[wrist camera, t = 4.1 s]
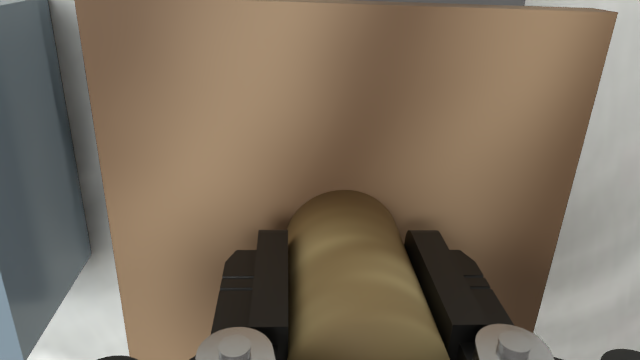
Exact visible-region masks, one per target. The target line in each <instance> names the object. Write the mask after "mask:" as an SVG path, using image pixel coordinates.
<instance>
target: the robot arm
mask: <svg viewBox="0 0 640 360" xmlns="http://www.w3.org/2000/svg"><path fill="white" fill-rule="evenodd" d="M404 246H405V249H406V251H407V254H408V256H409V259H410V261H411V264H412V266H413V269H414V271H415V274H416V276H417V279H418V281H419V284H420V286H421V289H422V291H423V294H424V296H425V298H426V301H427V303H428V306H429V308H430V311H431V313H432V316H433V318H434V321H435V323H436V326H437V328H438V331H439V333H440V336H441V338H442V341H443V343H444V346H445V348H446V351H447V353H448V356H449V358H450V360H562V359H558V358H555V357H553V355H552V353H551V351H550V349H549V347H548V346H547V345H546V344H545V343H544V342H543V341H542V340H541V339H540V338H539V337H537V336H536V335H535V334H533V333H531V332H529V331H527V330H525V329H523V328H520V327H517V326H514V324H513V322H512V321H511V319H510V317H509V316H508V314H507V313H506V311H505V309H504V308H503V306H502V304H501V303H500V301H499V300H498V298H497V296H496V295H495V293H494V291H493V290H492V289H490V285H489V283H488V282H487V280H486V278H484V277H483V273H482V272H481V270H480V269H479V267H478V265H477V264H476V262H475V261H474V260H473V259H471V258H470V257H469V256H467V255H466V254H465V253H463V252H462V251H461V250H449V248H448V246H447V245H446V243H445V241H444V239H443V237H442V235H441V234H440V232H439V231H438V230H408V231H407V233H406V236H405V243H404ZM287 358H288V230H259V231H258V240H257V249H256V250H236V251H235V252H234V253H233V254H232V255H231V256H230V257H229V258H228V260H227V261H226V262H225V265H224V270H223V275H222V280H221V285H220V291H219V295H218V300H217V305H216V310H215V315H214V320H213V325H212V330H211V335H210V336H208V337H207V338H206V339H205V340H204V341H203V342H202V343H201V344H200V346H199V347H198V349H197V352H196V355H195V356H194V357H193V358H191V359H189V360H287ZM98 360H138V359H135V358H133V357H129V356H110V357H105V358H101V359H98ZM601 360H640V352H638V351H634V350H628V349H615V350H611V351H608V352H606V353H605V354H604V355H603V356H602V357H601Z"/></svg>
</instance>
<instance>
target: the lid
mask: <svg viewBox="0 0 640 360" xmlns="http://www.w3.org/2000/svg"><path fill="white" fill-rule="evenodd" d="M74 1H75V7H76V14H77V20H78V26H79V33H80V39H81V46H82V52H83V59H84V65H85V72H86V78H87V84H88V91H89V97H90V104H91V110H92V117H93V123H94V130H95V136H96V142H97V149H98V155H99V162H100V168H101V175H102V181H103V188H104V194H105V200H106V207H107V213H108V220H109V226H110V233H111V239H112V246H113V252H114V258H115V265H116V271H117V278H118V284H119V291H120V297H121V303H122V310H123V316H124V323H125V329H126V336H127V342H128V349H129V355H130V357H133V358H135V359H138V360H189V359H191V358H193V357H194V356H195V355H196V352H197V349H198V347H199V346H200V344H201V343H202V342H203V341H204V340H205V339H206V338H207V337H208V336H210V335H211V330H212V325H213V320H214V315H215V310H216V305H217V300H218V295H219V291H220V285H221V280H222V275H223V270H224V265H225V262H226V261H227V260H228V258H229V257H230V256H231V255H232V254H233V253H234V252H235V251H236V250H256V249H257V240H258V231H259V230H288V358H287V360H450V358H449V356H448V353H447V351H446V348H445V346H444V343H443V341H442V338H441V336H440V333H439V331H438V328H437V326H436V323H435V321H434V318H433V316H432V313H431V311H430V308H429V306H428V303H427V301H426V298H425V296H424V294H423V291H422V289H421V286H420V284H419V281H418V279H417V276H416V274H415V271H414V269H413V266H412V264H411V261H410V259H409V256H408V254H407V251H406V249H405V246H404V243H405V236H406V233H407V231H408V230H438V231H439V232H440V234H441V235H442V237H443V239H444V241H445V243H446V245H447V246H448V248H449V250H461V251H462V252H463V253H465V254H466V255H467V256H469V257H470V258H471V259H473V260H474V261H475V262H476V264H477V265H478V267H479V269H480V270H481V272H482V273H483V277H484V278H486V280H487V282H488V283H489V285H490V289H492V290H493V291H494V293H495V295H496V296H497V298H498V300H499V301H500V303H501V304H502V306H503V308H504V309H505V311H506V313H507V314H508V316H509V317H510V319H511V321H512V322H513V324H514V326H517V327H520V328H523V329H525V330H527V331H529V332H531V333H533V331H534V327H535V324H536V320H537V316H538V312H539V309H540V305H541V301H542V297H543V293H544V290H545V286H546V282H547V278H548V275H549V271H550V267H551V263H552V260H553V256H554V252H555V248H556V244H557V241H558V237H559V233H560V229H561V226H562V222H563V218H564V214H565V210H566V207H567V203H568V199H569V195H570V192H571V188H572V184H573V180H574V177H575V173H576V169H577V165H578V161H579V158H580V154H581V150H582V146H583V143H584V139H585V135H586V131H587V127H588V124H589V120H590V116H591V112H592V109H593V105H594V101H595V97H596V94H597V90H598V86H599V82H600V78H601V75H602V71H603V67H604V63H605V60H606V56H607V52H608V48H609V44H610V41H611V37H612V33H613V29H614V26H615V22H616V18H617V14H618V12H612V11H606V10H601V9H595V8H570V7H540V6H510V5H479V4H449V3H419V2H389V1H358V0H74Z"/></svg>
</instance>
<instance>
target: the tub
mask: <svg viewBox="0 0 640 360" xmlns="http://www.w3.org/2000/svg"><path fill="white" fill-rule="evenodd" d="M90 256H91V249H90V243H89V237H88V231H87V226H86V220H85V214H84V208H83V202H82V197H81V191H80V185H79V179H78V173H77V168H76V162H75V156H74V150H73V144H72V139H71V133H70V127H69V121H68V115H67V110H66V104H65V98H64V92H63V86H62V81H61V75H60V69H59V63H58V57H57V52H56V46H55V40H54V34H53V28H52V23H51V17H50V11H49V5H48V0H0V360H27V358H28V356H29V355H30V353H31V351H32V350H33V348H34V347H35V345H36V343H37V342H38V340H39V338H40V337H41V335H42V334H43V332H44V330H45V329H46V327H47V325H48V324H49V322H50V321H51V319H52V317H53V316H54V314H55V312H56V311H57V309H58V308H59V306H60V304H61V303H62V301H63V299H64V298H65V296H66V295H67V293H68V291H69V290H70V288H71V286H72V285H73V283H74V282H75V280H76V278H77V277H78V275H79V273H80V272H81V270H82V269H83V267H84V265H85V264H86V262H87V260H88V259H89V257H90Z"/></svg>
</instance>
